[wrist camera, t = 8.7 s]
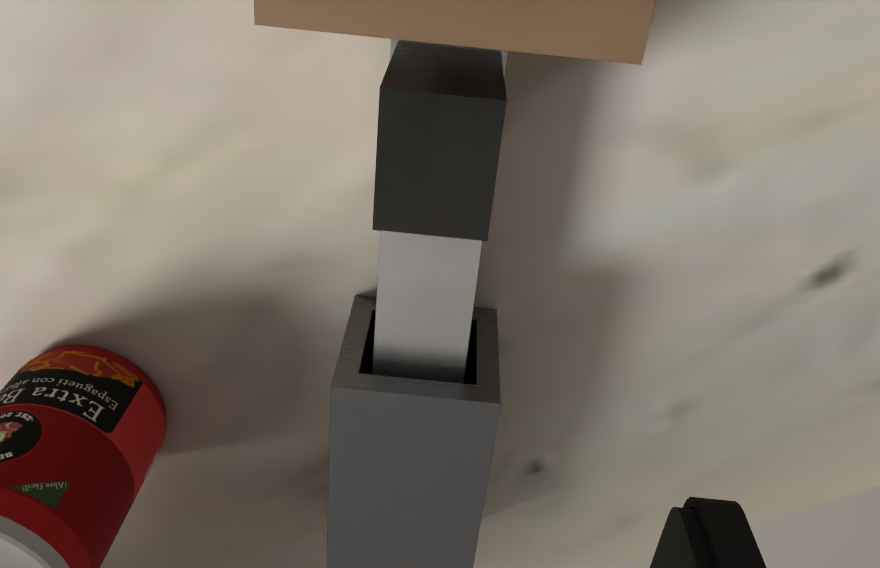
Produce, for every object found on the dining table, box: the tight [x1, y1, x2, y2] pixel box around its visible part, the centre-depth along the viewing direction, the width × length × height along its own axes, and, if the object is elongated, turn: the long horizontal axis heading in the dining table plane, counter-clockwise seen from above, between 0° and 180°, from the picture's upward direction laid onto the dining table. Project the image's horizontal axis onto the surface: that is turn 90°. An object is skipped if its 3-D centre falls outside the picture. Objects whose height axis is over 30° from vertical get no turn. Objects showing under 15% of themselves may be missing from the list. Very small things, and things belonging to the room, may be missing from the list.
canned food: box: [0, 345, 166, 568], centre depth 33 cm, size 8×8×11 cm
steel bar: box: [372, 39, 508, 384], centre depth 26 cm, size 20×4×9 cm, turn 175°
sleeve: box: [327, 296, 501, 568], centre depth 35 cm, size 14×6×7 cm, turn 175°
